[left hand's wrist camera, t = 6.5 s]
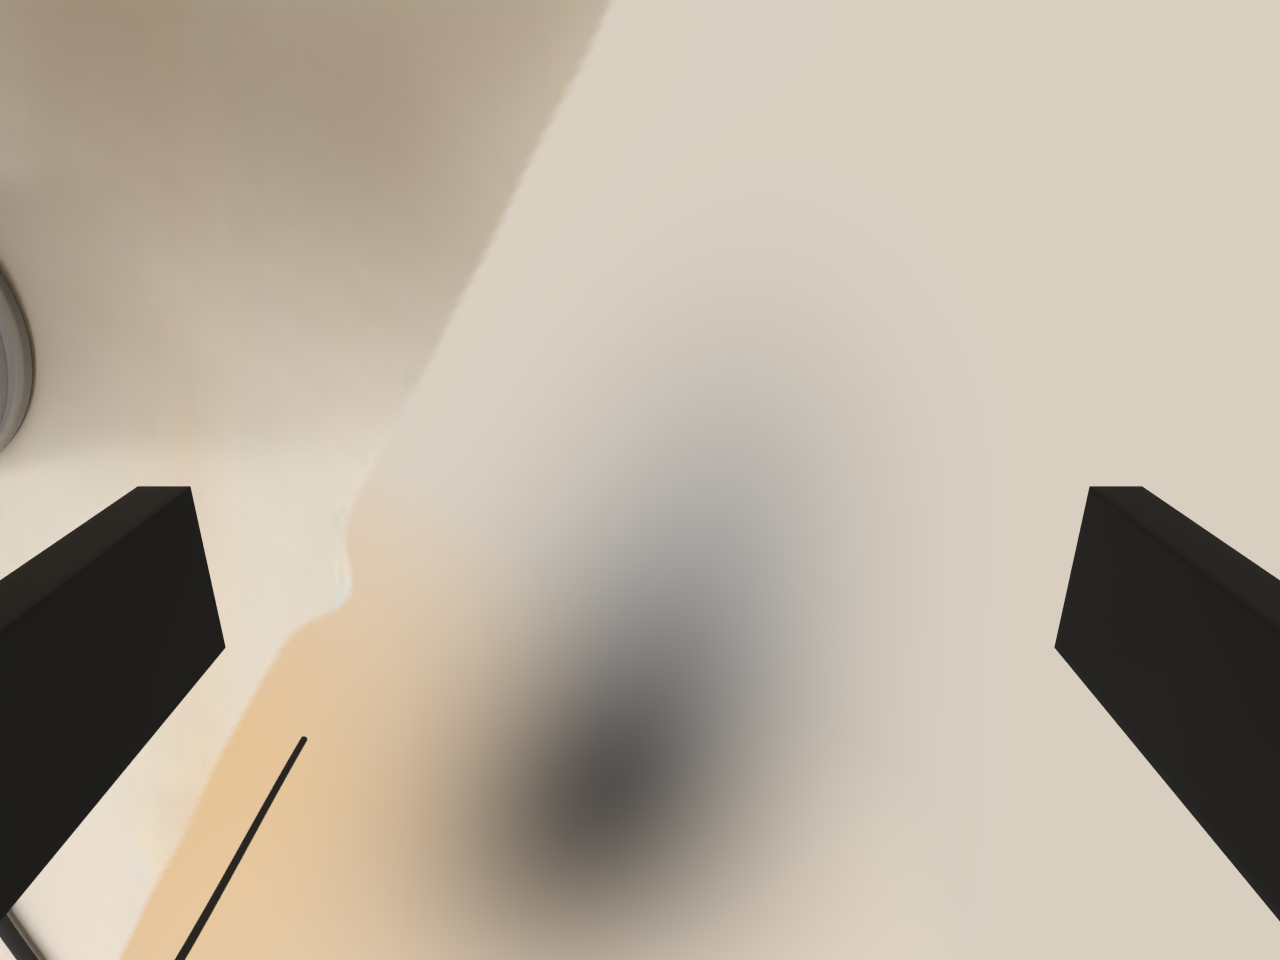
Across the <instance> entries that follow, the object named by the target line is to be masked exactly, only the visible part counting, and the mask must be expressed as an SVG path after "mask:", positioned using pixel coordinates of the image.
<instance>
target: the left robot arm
mask: <svg viewBox="0 0 1280 960" xmlns="http://www.w3.org/2000/svg"><path fill="white" fill-rule="evenodd" d="M31 386H32V357H31V349H30V343H29V338H28V334H27V330H26V327H25V323H24V320H23V317H22V314H21V312H20V309H19V307H18V304H17V302H16V300H15V298H14V296H13V294H12V291H11V289H10V287H9V286H8V284H7V282H6V280H5V279H4V277H3V275H2V274H1V272H0V451H1V450H2V449H3V448H4V447H5V446H6V445H7V444H8V443H9V441H10V440H11V439H12V437H13V436H14V435H15V433H16V431H17V430H18V428H19V426H20V424H21V422H22V420H23V418H24V415H25V413H26V410H27V406H28V403H29V399H30V394H31ZM224 649H225V643H224V638H223V634H222V629H221V625H220V620H219V615H218V611H217V606H216V602H215V597H214V593H213V588H212V583H211V579H210V574H209V570H208V565H207V560H206V556H205V551H204V547H203V542H202V538H201V533H200V528H199V524H198V519H197V515H196V510H195V506H194V501H193V496H192V492H191V487H190V486H138V487H136V488H135V489H133V490H132V491H130V492H129V493H128V494H126V495H125V496H123V497H122V498H120V499H119V500H117V501H116V502H114V503H113V504H111V505H110V506H108V507H107V508H106V509H104V510H103V511H101V512H100V513H98V514H97V515H95V516H94V517H92V518H91V519H89V520H88V521H87V522H85V523H84V524H82V525H81V526H79V527H78V528H76V529H75V530H73V531H72V532H70V533H69V534H67V535H66V536H65V537H63V538H62V539H60V540H59V541H57V542H56V543H54V544H53V545H51V546H50V547H48V548H47V549H45V550H44V551H43V552H41V553H40V554H38V555H37V556H35V557H34V558H32V559H31V560H29V561H28V562H26V563H25V564H23V565H22V566H21V567H19V568H18V569H16V570H15V571H13V572H12V573H10V574H9V575H7V576H6V577H4V578H3V579H1V580H0V937H1V939H2V940H3V942H4V943H5V944H6V946H7V947H8V948H9V950H10V951H11V953H12V954H13V955H14V957H15V958H16V959H17V960H38V959H37V957H36V956H35V955H34V953H33V952H32V950H31V949H30V948H29V946H28V945H27V943H26V942H25V941H24V939H23V938H22V936H21V935H20V934H19V932H18V931H17V929H16V928H15V926H14V925H13V923H12V922H11V920H10V919H9V917H8V916H7V914H6V913H7V912H8V911H9V910H10V909H11V907H12V906H13V905H14V904H15V903H16V901H17V900H18V899H19V898H20V896H21V895H22V894H23V893H24V892H25V890H26V889H27V888H28V887H29V886H30V884H31V883H32V882H33V881H34V879H35V878H36V877H37V876H38V875H39V873H40V872H41V871H42V870H43V869H44V867H45V866H46V865H47V864H48V862H49V861H50V860H51V859H52V858H53V856H54V855H55V854H56V853H57V852H58V850H59V849H60V848H61V847H62V845H63V844H64V843H65V842H66V841H67V839H68V838H69V837H70V836H71V835H72V833H73V832H74V831H75V830H76V828H77V827H78V826H79V825H80V824H81V822H82V821H83V820H84V819H85V818H86V816H87V815H88V814H89V813H90V811H91V810H92V809H93V808H94V807H95V805H96V804H97V803H98V802H99V801H100V799H101V798H102V797H103V796H104V794H105V793H106V792H107V791H108V790H109V788H110V787H111V786H112V785H113V784H114V782H115V781H116V780H117V779H118V777H119V776H120V775H121V774H122V773H123V771H124V770H125V769H126V768H127V767H128V765H129V764H130V763H131V762H132V760H133V759H134V758H135V757H136V756H137V754H138V753H139V752H140V751H141V750H142V748H143V747H144V746H145V745H146V743H147V742H148V741H149V740H150V739H151V737H152V736H153V735H154V734H155V732H156V731H157V730H158V729H159V728H160V726H161V725H162V724H163V723H164V722H165V720H166V719H167V718H168V717H169V715H170V714H171V713H172V712H173V711H174V709H175V708H176V707H177V706H178V705H179V703H180V702H181V701H182V700H183V698H184V697H185V696H186V695H187V694H188V692H189V691H190V690H191V689H192V688H193V686H194V685H195V684H196V683H197V681H198V680H199V679H200V678H201V677H202V675H203V674H204V673H205V672H206V671H207V669H208V668H209V667H210V666H211V664H212V663H213V662H214V661H215V660H216V658H217V657H218V656H219V655H220V654H221V652H222V651H223V650H224ZM1055 649H1056V650H1057V651H1058V652H1059V654H1060V655H1061V656H1062V657H1063V658H1064V660H1065V661H1066V662H1067V663H1068V664H1069V666H1070V667H1071V668H1072V669H1073V671H1074V672H1075V673H1076V674H1077V675H1078V677H1079V678H1080V679H1081V680H1082V681H1083V683H1084V684H1085V685H1086V686H1087V688H1088V689H1089V690H1090V691H1091V692H1092V694H1093V695H1094V696H1095V697H1096V698H1097V700H1098V701H1099V702H1100V703H1101V705H1102V706H1103V707H1104V708H1105V709H1106V711H1107V712H1108V713H1109V714H1110V715H1111V717H1112V718H1113V719H1114V720H1115V722H1116V723H1117V724H1118V725H1119V726H1120V728H1121V729H1122V730H1123V731H1124V732H1125V734H1126V735H1127V736H1128V737H1129V739H1130V740H1131V741H1132V742H1133V743H1134V745H1135V746H1136V747H1137V748H1138V750H1139V751H1140V752H1141V753H1142V754H1143V755H1144V757H1145V758H1146V759H1147V760H1148V762H1149V763H1150V764H1151V765H1152V766H1153V768H1154V769H1155V770H1156V771H1157V773H1158V774H1159V775H1160V776H1161V777H1162V779H1163V780H1164V781H1165V782H1166V784H1167V785H1168V786H1169V787H1170V788H1171V790H1172V791H1173V792H1174V793H1175V794H1176V796H1177V797H1178V798H1179V799H1180V801H1181V802H1182V803H1183V804H1184V805H1185V807H1186V808H1187V809H1188V810H1189V811H1190V813H1191V814H1192V815H1193V816H1194V818H1195V819H1196V820H1197V821H1198V822H1199V824H1200V825H1201V826H1202V827H1203V828H1204V830H1205V831H1206V832H1207V833H1208V835H1209V836H1210V837H1211V838H1212V839H1213V841H1214V842H1215V843H1216V844H1217V845H1218V847H1219V848H1220V849H1221V850H1222V852H1223V853H1224V854H1225V855H1226V856H1227V858H1228V859H1229V860H1230V861H1231V862H1232V864H1233V865H1234V866H1235V867H1236V868H1237V870H1238V871H1239V872H1240V873H1241V875H1242V876H1243V877H1244V878H1245V879H1246V881H1247V882H1248V883H1249V884H1250V885H1251V887H1252V888H1253V889H1254V890H1255V892H1256V893H1257V894H1258V895H1259V896H1260V898H1261V899H1262V900H1263V901H1264V903H1265V904H1266V905H1267V906H1268V907H1269V909H1270V910H1271V911H1272V912H1273V913H1274V915H1275V916H1276V917H1277V918H1278V920H1279V921H1280V580H1279V579H1277V578H1276V577H1274V576H1273V575H1271V574H1270V573H1268V572H1267V571H1265V570H1264V569H1262V568H1261V567H1259V566H1258V565H1257V564H1255V563H1254V562H1252V561H1251V560H1249V559H1248V558H1246V557H1245V556H1243V555H1242V554H1240V553H1239V552H1237V551H1236V550H1235V549H1233V548H1232V547H1230V546H1229V545H1227V544H1226V543H1224V542H1223V541H1221V540H1220V539H1218V538H1217V537H1215V536H1214V535H1213V534H1211V533H1210V532H1208V531H1207V530H1205V529H1204V528H1202V527H1201V526H1199V525H1198V524H1196V523H1195V522H1193V521H1192V520H1191V519H1189V518H1188V517H1186V516H1185V515H1183V514H1182V513H1180V512H1179V511H1177V510H1176V509H1174V508H1173V507H1171V506H1170V505H1169V504H1167V503H1166V502H1164V501H1163V500H1161V499H1160V498H1158V497H1157V496H1155V495H1154V494H1152V493H1151V492H1149V491H1148V490H1147V489H1145V488H1144V487H1142V486H1130V487H1129V486H1097V487H1096V486H1093V487H1092V486H1090V488H1089V492H1088V496H1087V501H1086V506H1085V510H1084V515H1083V519H1082V524H1081V528H1080V533H1079V538H1078V542H1077V547H1076V551H1075V556H1074V561H1073V565H1072V570H1071V574H1070V579H1069V583H1068V588H1067V593H1066V597H1065V602H1064V606H1063V611H1062V616H1061V620H1060V625H1059V629H1058V634H1057V638H1056V643H1055ZM306 742H307V737H305V736H302V737H301V739H300V740H299V742H298V744H297V745H296V747H295V749H294V751H293V752H292V754H291V756H290V757H289V759H288V761H287V763H286V764H285V766H284V768H283V770H282V771H281V773H280V775H279V777H278V778H277V780H276V782H275V784H274V786H273V787H272V789H271V791H270V793H269V795H268V796H267V798H266V800H265V801H264V803H263V805H262V807H261V809H260V811H259V812H258V814H257V816H256V818H255V819H254V821H253V823H252V825H251V827H250V828H249V830H248V832H247V834H246V836H245V837H244V839H243V841H242V843H241V844H240V846H239V848H238V850H237V852H236V854H235V855H234V857H233V859H232V861H231V862H230V864H229V866H228V868H227V869H226V871H225V873H224V875H223V877H222V878H221V880H220V882H219V884H218V885H217V887H216V889H215V891H214V893H213V894H212V896H211V898H210V900H209V901H208V903H207V905H206V907H205V908H204V910H203V912H202V914H201V915H200V917H199V919H198V921H197V922H196V924H195V926H194V927H193V929H192V931H191V933H190V934H189V936H188V938H187V940H186V941H185V943H184V945H183V946H182V948H181V950H180V951H179V953H178V955H177V956H176V958H175V960H185V959H186V957H187V956H188V954H189V952H190V951H191V949H192V947H193V945H194V944H195V942H196V940H197V938H198V936H199V935H200V933H201V931H202V930H203V928H204V926H205V924H206V922H207V921H208V919H209V917H210V915H211V914H212V912H213V910H214V908H215V906H216V905H217V903H218V901H219V899H220V897H221V896H222V894H223V892H224V890H225V888H226V887H227V885H228V883H229V881H230V879H231V877H232V876H233V874H234V872H235V870H236V868H237V867H238V865H239V863H240V861H241V859H242V857H243V856H244V854H245V852H246V850H247V848H248V846H249V845H250V843H251V841H252V839H253V837H254V835H255V833H256V832H257V830H258V828H259V826H260V824H261V823H262V821H263V819H264V817H265V815H266V813H267V811H268V810H269V808H270V806H271V804H272V802H273V801H274V799H275V797H276V795H277V793H278V792H279V790H280V788H281V786H282V784H283V782H284V781H285V779H286V777H287V775H288V774H289V772H290V770H291V768H292V766H293V765H294V763H295V761H296V759H297V758H298V756H299V754H300V752H301V751H302V749H303V747H304V745H305V743H306Z"/></svg>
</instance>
